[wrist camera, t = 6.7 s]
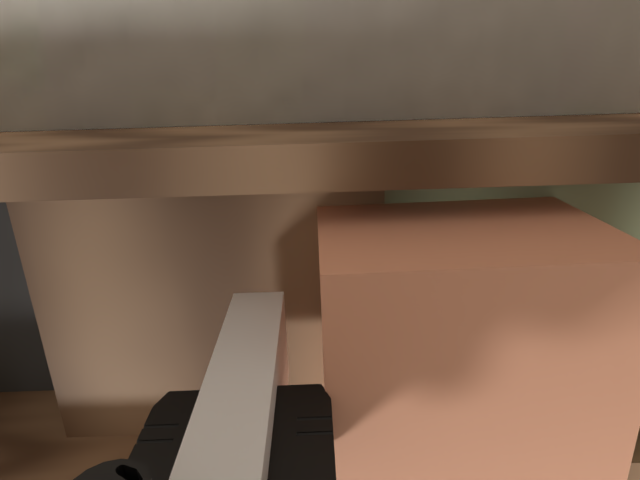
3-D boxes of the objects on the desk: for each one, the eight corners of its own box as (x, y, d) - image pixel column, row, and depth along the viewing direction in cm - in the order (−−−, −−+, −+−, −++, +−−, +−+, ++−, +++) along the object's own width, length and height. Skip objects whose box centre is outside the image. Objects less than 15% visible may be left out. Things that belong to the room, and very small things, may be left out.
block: (324, 402, 16) (331, 538, 11) (316, 206, 14) (320, 275, 9) (527, 393, 16) (616, 525, 12) (553, 196, 14) (678, 259, 9)
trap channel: (-61, 413, 20) (-178, 521, 15) (-162, 136, 16) (-361, 163, 11) (793, 384, 20) (942, 480, 15) (896, 105, 16) (1137, 119, 11)
